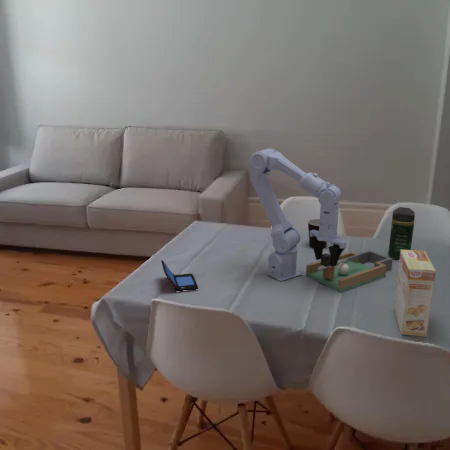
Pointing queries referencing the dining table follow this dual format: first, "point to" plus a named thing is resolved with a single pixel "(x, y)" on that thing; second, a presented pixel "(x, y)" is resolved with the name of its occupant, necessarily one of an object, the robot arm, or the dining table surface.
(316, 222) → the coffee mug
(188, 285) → the handheld game console
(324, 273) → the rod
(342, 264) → the ball
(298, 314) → the dining table surface
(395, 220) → the coffee jar
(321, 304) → the dining table surface
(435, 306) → the dining table surface
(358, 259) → the pitch
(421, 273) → the coffeecake box
